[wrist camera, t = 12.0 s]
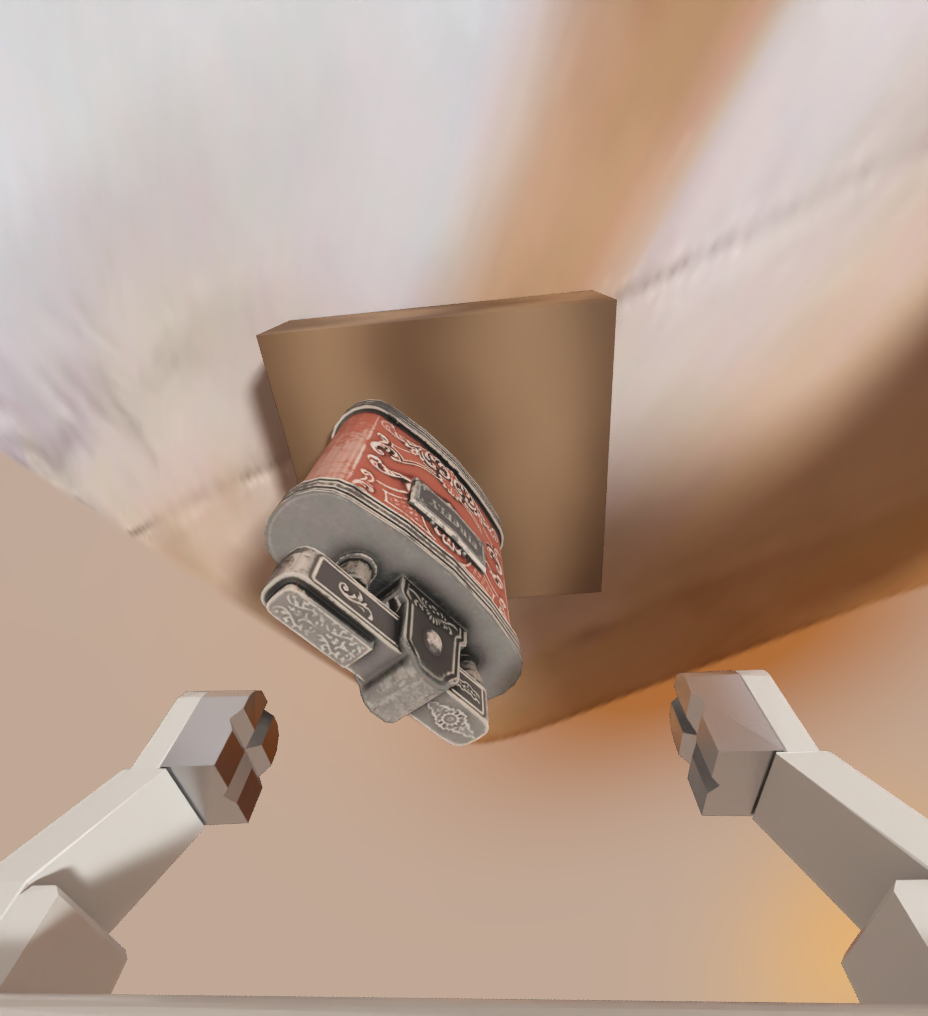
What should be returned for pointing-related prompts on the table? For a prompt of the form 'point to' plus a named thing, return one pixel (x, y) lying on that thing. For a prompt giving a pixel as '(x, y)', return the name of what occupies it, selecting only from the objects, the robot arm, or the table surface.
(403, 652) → the lighter
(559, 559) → the walnut base
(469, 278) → the table surface
